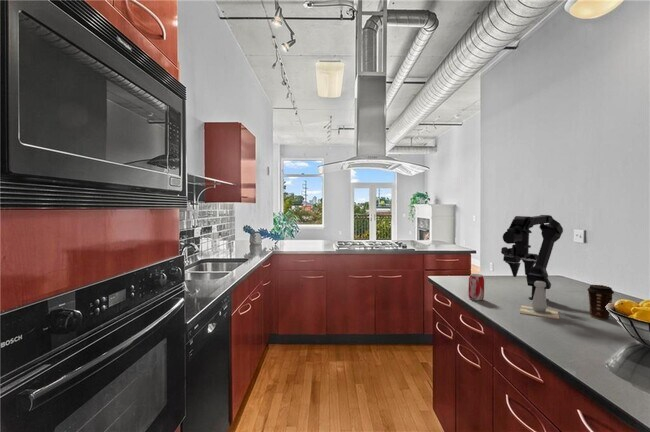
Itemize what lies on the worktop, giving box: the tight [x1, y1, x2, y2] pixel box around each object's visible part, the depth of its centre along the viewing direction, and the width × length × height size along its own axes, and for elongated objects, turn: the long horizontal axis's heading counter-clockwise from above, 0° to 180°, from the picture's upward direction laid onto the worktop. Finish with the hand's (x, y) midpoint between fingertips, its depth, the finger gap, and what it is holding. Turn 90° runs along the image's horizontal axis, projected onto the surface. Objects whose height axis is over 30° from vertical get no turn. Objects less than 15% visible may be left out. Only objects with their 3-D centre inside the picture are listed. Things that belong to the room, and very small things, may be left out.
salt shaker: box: [530, 281, 548, 313], centre depth 152 cm, size 6×6×13 cm
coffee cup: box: [587, 284, 615, 320], centre depth 146 cm, size 9×8×13 cm
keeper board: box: [519, 304, 560, 320], centre depth 152 cm, size 14×14×1 cm
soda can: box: [467, 273, 485, 302], centre depth 171 cm, size 7×7×12 cm
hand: (520, 275), depth 165 cm, fingers open, 9 cm apart
